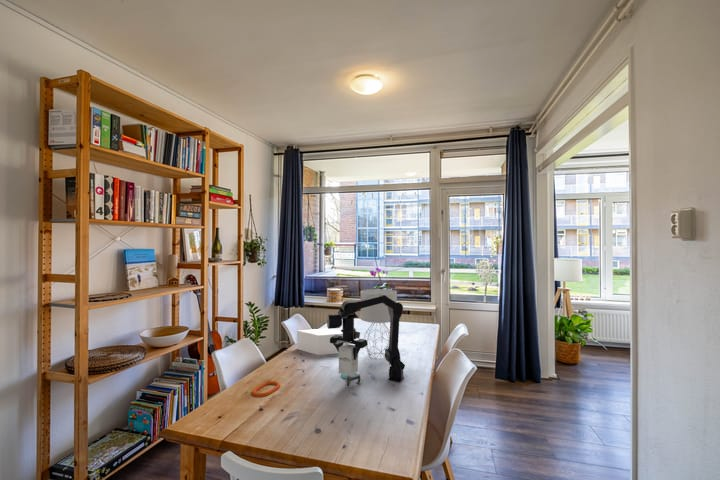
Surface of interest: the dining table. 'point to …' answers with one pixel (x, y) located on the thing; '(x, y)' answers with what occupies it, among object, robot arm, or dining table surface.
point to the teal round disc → (346, 375)
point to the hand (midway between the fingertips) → (348, 358)
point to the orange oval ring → (268, 391)
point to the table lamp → (377, 313)
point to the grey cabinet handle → (352, 380)
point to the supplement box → (347, 360)
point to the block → (317, 341)
